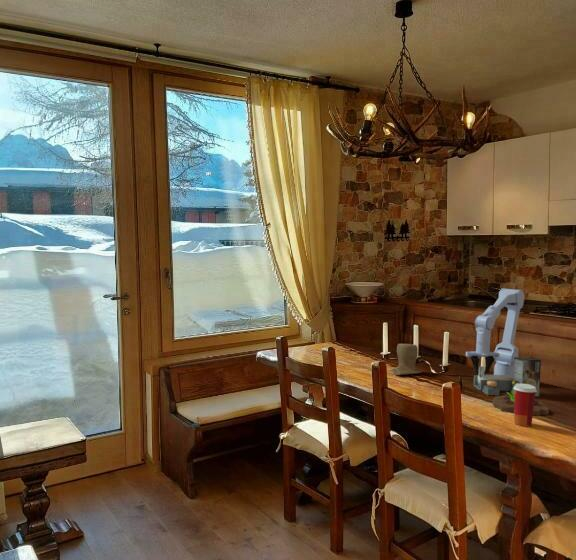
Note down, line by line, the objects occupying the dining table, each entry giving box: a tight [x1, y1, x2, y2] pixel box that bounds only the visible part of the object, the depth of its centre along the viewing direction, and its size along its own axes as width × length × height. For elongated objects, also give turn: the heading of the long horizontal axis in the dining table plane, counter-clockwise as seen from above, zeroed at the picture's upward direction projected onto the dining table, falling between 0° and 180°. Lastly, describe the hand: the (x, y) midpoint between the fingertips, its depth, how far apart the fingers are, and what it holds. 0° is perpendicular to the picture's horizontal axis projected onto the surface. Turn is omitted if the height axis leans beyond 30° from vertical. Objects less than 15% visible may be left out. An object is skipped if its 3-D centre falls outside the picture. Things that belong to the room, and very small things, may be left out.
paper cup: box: [513, 384, 537, 428], centre depth 201 cm, size 8×8×14 cm
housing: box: [473, 374, 513, 397], centre depth 248 cm, size 15×16×5 cm
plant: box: [492, 381, 550, 416], centre depth 223 cm, size 20×20×11 cm
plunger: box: [487, 381, 497, 388], centre depth 242 cm, size 4×4×5 cm
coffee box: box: [512, 356, 542, 397], centre depth 242 cm, size 9×6×16 cm
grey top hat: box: [391, 343, 423, 376], centre depth 275 cm, size 15×12×15 cm
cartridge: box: [477, 365, 511, 386], centre depth 251 cm, size 5×13×9 cm, turn 92°
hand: (481, 372), depth 250 cm, fingers open, 4 cm apart
